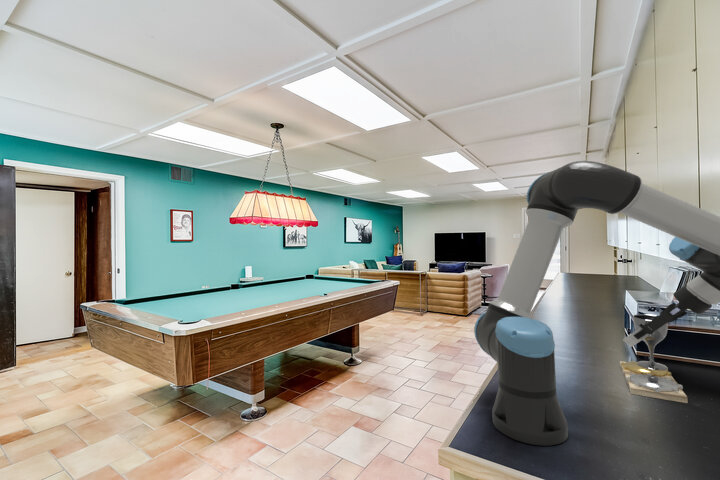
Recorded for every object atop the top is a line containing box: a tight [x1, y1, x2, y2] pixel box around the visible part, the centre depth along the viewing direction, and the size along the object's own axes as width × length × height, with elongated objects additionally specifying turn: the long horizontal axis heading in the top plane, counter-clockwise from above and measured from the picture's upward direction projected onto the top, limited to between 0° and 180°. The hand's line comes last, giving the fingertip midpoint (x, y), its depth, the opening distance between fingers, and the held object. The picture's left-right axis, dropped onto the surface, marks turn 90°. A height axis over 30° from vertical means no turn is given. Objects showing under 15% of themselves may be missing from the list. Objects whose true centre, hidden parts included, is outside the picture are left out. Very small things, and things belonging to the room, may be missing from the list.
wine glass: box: [632, 313, 669, 370], centre depth 100 cm, size 8×8×15 cm
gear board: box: [619, 360, 689, 404], centre depth 94 cm, size 24×12×4 cm, turn 147°
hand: (633, 339), depth 101 cm, fingers open, 13 cm apart
